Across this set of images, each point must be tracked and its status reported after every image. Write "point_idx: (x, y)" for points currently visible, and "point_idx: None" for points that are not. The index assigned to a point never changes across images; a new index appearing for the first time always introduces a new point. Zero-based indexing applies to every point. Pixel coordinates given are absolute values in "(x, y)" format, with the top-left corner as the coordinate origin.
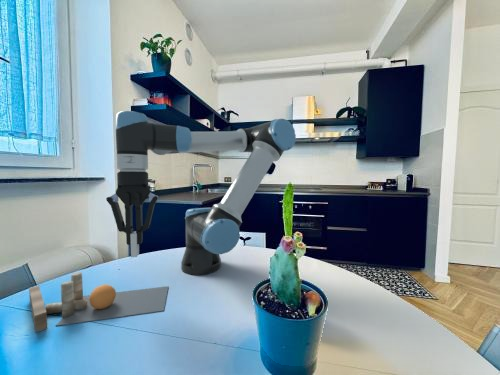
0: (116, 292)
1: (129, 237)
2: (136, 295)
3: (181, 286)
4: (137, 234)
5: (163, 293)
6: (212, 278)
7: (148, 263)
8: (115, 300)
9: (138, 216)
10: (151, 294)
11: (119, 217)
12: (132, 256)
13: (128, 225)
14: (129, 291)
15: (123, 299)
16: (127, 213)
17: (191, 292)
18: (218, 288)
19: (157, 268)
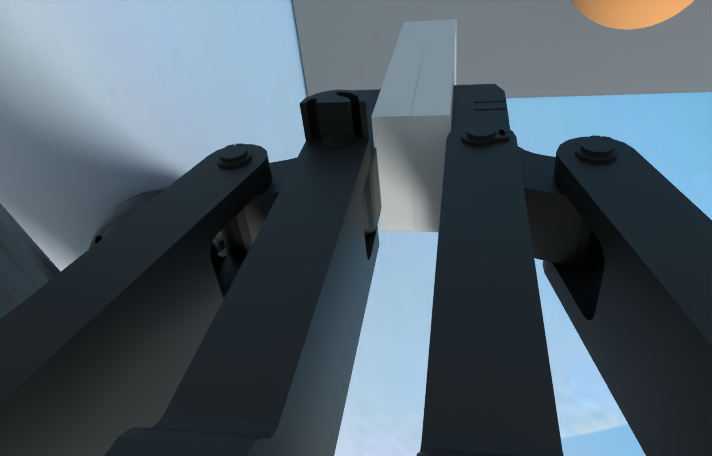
0: (576, 92)
1: (470, 119)
2: (458, 37)
3: (243, 93)
4: (370, 138)
5: (315, 30)
6: (110, 143)
7: None
8: (565, 2)
9: (271, 283)
10: (378, 32)
11: (671, 292)
12: (442, 21)
13: (474, 186)
14: (505, 88)
15: (521, 4)
16: (494, 354)
17: (173, 18)
18: (48, 34)
19: (411, 300)
